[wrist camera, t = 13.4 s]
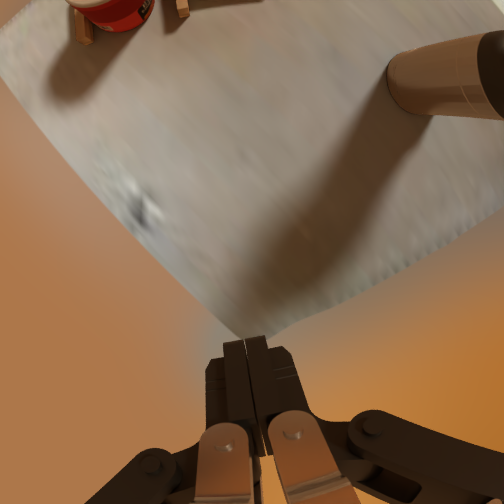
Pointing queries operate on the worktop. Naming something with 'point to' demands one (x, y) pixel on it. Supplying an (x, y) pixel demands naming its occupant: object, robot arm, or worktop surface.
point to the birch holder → (86, 29)
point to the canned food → (114, 12)
